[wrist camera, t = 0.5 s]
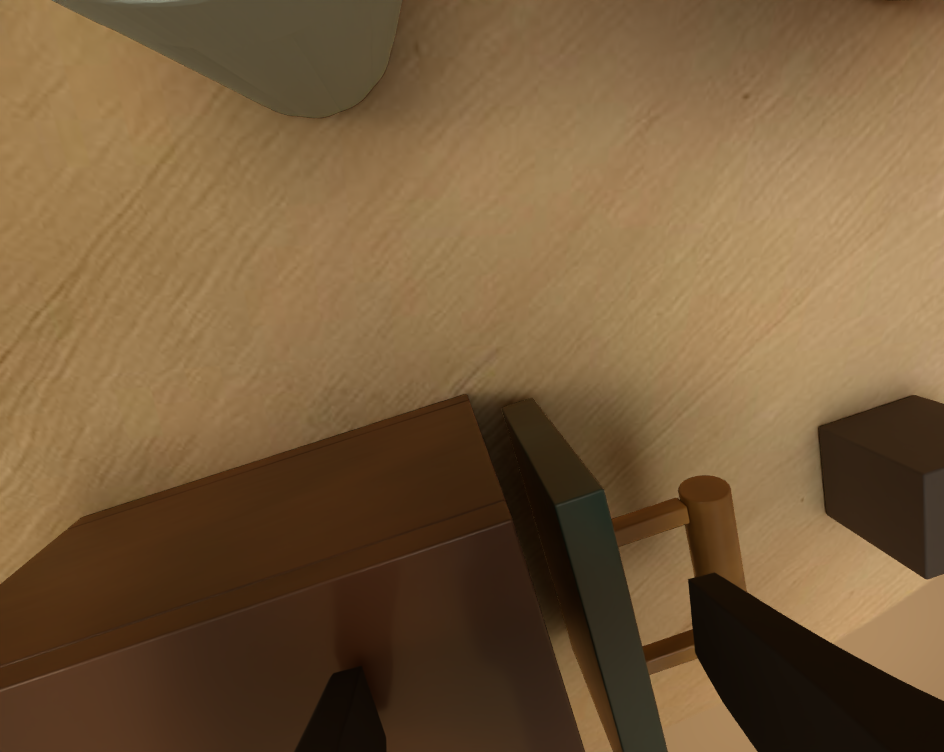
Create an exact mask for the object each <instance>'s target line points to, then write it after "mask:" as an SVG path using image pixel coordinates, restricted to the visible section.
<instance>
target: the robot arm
mask: <svg viewBox="0 0 944 752" xmlns="http://www.w3.org/2000/svg"><path fill="white" fill-rule="evenodd" d="M688 583H689V593H690V604H691V615H692V626H693V636H694V647H695V654H696V656H697V657H698V659H699V661H700V663H701V665H702V666H703V668H704V670H705V672H706V674H707V675H708V677H709V679H710V681H711V682H712V684H713V686H714V688H715V689H716V691H717V693H718V695H719V696H720V698H721V700H722V701H723V703H724V704H725V706H726V707H727V709H728V710H729V711H730V713H731V714H732V716H733V717H734V719H735V720H736V722H737V723H738V724H739V726H740V727H741V729H742V730H743V731H744V733H745V734H746V736H747V737H748V739H749V740H750V742H751V743H752V744H753V746H754V747H755V748H756V750H757V751H758V752H944V701H942V700H940V699H938V698H936V697H934V696H932V695H930V694H928V693H925V692H923V691H921V690H919V689H917V688H915V687H913V686H911V685H909V684H907V683H905V682H903V681H901V680H899V679H897V678H895V677H893V676H891V675H889V674H887V673H886V672H884V671H882V670H880V669H878V668H876V667H874V666H872V665H871V664H869V663H867V662H865V661H863V660H861V659H859V658H857V657H855V656H854V655H852V654H850V653H848V652H846V651H845V650H842V649H841V648H839V647H837V646H836V645H834V644H832V643H830V642H829V641H827V640H825V639H823V638H822V637H820V636H818V635H817V634H815V633H813V632H811V631H810V630H808V629H806V628H805V627H803V626H801V625H799V624H798V623H796V622H794V621H793V620H791V619H789V618H788V617H786V616H785V615H783V614H781V613H780V612H778V611H776V610H775V609H773V608H771V607H770V606H768V605H767V604H765V603H763V602H762V601H760V600H759V599H757V598H755V597H754V596H752V595H751V594H749V593H747V592H746V591H744V590H743V589H741V588H739V587H738V586H736V585H735V584H733V583H731V582H730V581H728V580H727V579H725V578H723V577H722V576H720V575H718V574H717V573H715V572H714V573H710V574H706V575H702V576H698V577H695V578H691V579H688ZM294 752H387V744H386V735H385V732H384V729H383V726H382V723H381V721H380V718H379V715H378V712H377V709H376V706H375V703H374V700H373V697H372V694H371V691H370V688H369V686H368V683H367V680H366V677H365V674H364V671H363V668H362V666H358V667H355V668H351V669H347V670H343V671H339V672H336V673H333V674H332V675H331V677H330V678H329V680H328V682H327V684H326V687H325V689H324V691H323V693H322V695H321V697H320V699H319V701H318V703H317V706H316V708H315V710H314V712H313V714H312V716H311V718H310V720H309V722H308V724H307V726H306V728H305V730H304V732H303V734H302V736H301V738H300V741H299V743H298V745H297V747H296V749H295V750H294Z"/></svg>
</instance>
